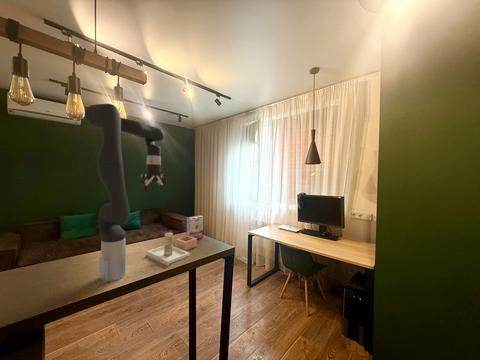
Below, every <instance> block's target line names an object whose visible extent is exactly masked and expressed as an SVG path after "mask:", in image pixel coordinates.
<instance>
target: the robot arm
mask: <svg viewBox="0 0 480 360" xmlns="http://www.w3.org/2000/svg"><path fill="white" fill-rule="evenodd" d="M84 117H85V119H86V121H87V122H88V123H89V124H90V125H91V126H93V127H96V128H100V129H102V131H103V142H102V145H101V147H100V149H99V151H98V154H97V157H96V165H97V172H98V173H97V174H98V176H99V178H100V179H99V180H100V181H101V183H102V185H103V186H104V187H105V189H106V191H107V192H108V195H109V200H110V202H107V203H105V204H103V205H102V206H101V207H100V209H99V212H98V233H99V235H100V241H101V242H100V243H101V244H100V249H101V250H100V254H101V256H99V257H98V258H99V259H98V261H99V264H98V265H99V267H98V268H99V269H98V270H99V271H98V278H99V279H100V280H101V281H102V282H103V283H104V284H105V283H108V282H114V281H115V282H116V281H118V280H120V279H122V278H123V277H125V275H126V252H127V251H126V247H127V246H126V245H127V244H126V241H127V239H126V237H127V234H126V233H127V232H126V231H125V230H124V229H123V228H122V227H121V226H123V225H125V224H126V223H127V222H128V221H129V219H130V217H131V210H130V209H131V208H130V204H129V200H128V195H127V191H126V190H127V189H126V181H125V171H124V169H125V168H124V162H123V154H122V153H123V152H122V137H121V136H122V133H121V132H123V133H126V134H130V135H134V136H136V137H138V138H142V139H143V138H144V141H145V145H146V150H147V151H146V153H147V155H146V169H145V170H146V173H141V174H140V179H139V180H140V181H139V184H140V185H142V186H143V192H144V193H146V194H147V193H148V191H149V186H148V185H149V184H150V183H153V182H157V184H158V192H159V193H161V192H162V191H163V185H166V184H167V180H166V173H162V174H161V172H162V157H161V155H162V153H161V151H162V149H161V146H159V145H156V144H155V143H156V142H161V141H163V140H164V138H165V133H164V131H163V129H161V128H159V127H155V126H151V125H147V124H146V123H142V122H140V121H137V120H134V119H129V118H124V117H122V116H121V113H120V111H119V109H118V107H117V106H116V105H114V104H113V103H98V104H91V105H88V106H87V107H86V109H85V110H84Z"/></svg>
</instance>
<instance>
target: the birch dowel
mask: <svg viewBox="0 0 480 360" xmlns="http://www.w3.org/2000/svg"><path fill="white" fill-rule="evenodd" d="M163 243H164V245H163V246H164V256H171V255H172V248H173V246H174V245H173V243H174V233H173V232H165V233H164V242H163Z"/></svg>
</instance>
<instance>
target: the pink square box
mask: <svg viewBox="0 0 480 360" xmlns="http://www.w3.org/2000/svg"><path fill="white" fill-rule="evenodd" d="M174 240H175V241H174V243H175V244H174V245H175V246H174V247H177V248H179V249H182V250H184V251H186V252H187V251H189V250H191V249H193V248H197V246H198V239H197V238H194V237H191V236H188V235H187V234H186V235H184V236H180V237H178V238H175V239H174Z"/></svg>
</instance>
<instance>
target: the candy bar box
mask: <svg viewBox="0 0 480 360" xmlns="http://www.w3.org/2000/svg"><path fill="white" fill-rule="evenodd" d="M187 235H188V236H191V237H194V238H197V240H199V239H204V216H203V215H195V216H189V217H186V236H187Z"/></svg>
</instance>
